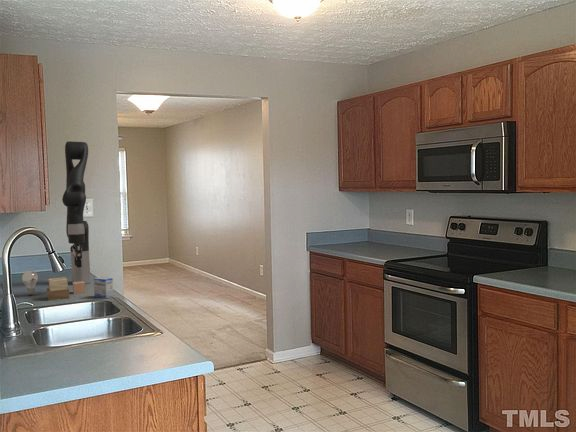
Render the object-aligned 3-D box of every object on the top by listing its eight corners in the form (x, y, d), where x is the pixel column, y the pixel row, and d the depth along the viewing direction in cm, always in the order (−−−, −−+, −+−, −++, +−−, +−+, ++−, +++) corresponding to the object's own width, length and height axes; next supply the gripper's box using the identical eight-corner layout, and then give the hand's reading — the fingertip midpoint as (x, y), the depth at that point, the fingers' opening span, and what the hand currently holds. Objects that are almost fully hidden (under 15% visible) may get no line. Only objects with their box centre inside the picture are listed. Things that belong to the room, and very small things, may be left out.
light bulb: (35, 293, 270) (34, 268, 270) (41, 294, 265) (39, 270, 265) (20, 295, 265) (19, 270, 265) (26, 297, 260) (24, 271, 260)
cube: (73, 292, 270) (72, 282, 269) (84, 291, 272) (83, 281, 272) (74, 294, 265) (73, 283, 265) (85, 293, 267) (84, 282, 267)
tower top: (49, 288, 258) (48, 278, 258) (66, 286, 262) (65, 277, 261) (50, 291, 252) (49, 281, 251) (67, 289, 255) (67, 279, 255)
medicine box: (94, 297, 256) (93, 278, 256) (101, 295, 260) (100, 276, 260) (106, 298, 253) (105, 279, 252) (113, 296, 256) (112, 277, 256)
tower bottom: (47, 297, 259) (46, 288, 259) (67, 295, 263) (67, 286, 263) (48, 301, 251) (47, 291, 251) (69, 299, 255) (69, 289, 255)
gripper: (66, 232, 272) (68, 265, 272) (69, 234, 259) (71, 268, 260) (82, 231, 275) (84, 264, 276) (86, 233, 262) (88, 267, 263)
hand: (78, 266), depth 268 cm, fingers open, 8 cm apart
